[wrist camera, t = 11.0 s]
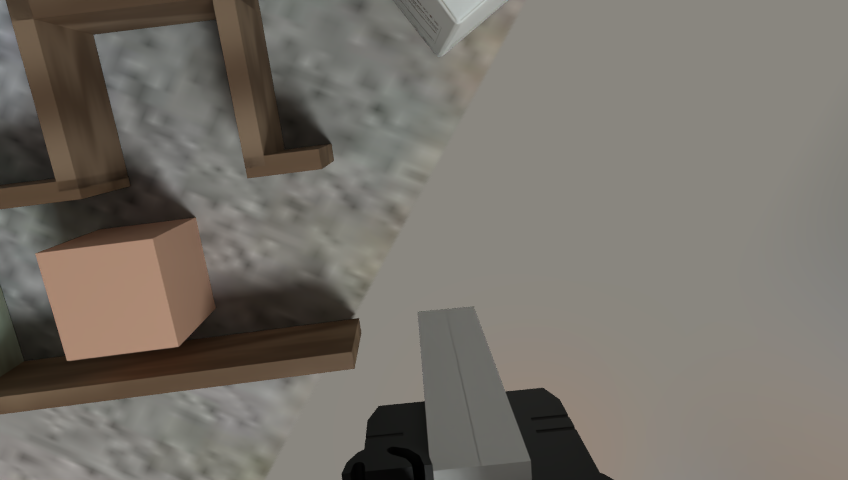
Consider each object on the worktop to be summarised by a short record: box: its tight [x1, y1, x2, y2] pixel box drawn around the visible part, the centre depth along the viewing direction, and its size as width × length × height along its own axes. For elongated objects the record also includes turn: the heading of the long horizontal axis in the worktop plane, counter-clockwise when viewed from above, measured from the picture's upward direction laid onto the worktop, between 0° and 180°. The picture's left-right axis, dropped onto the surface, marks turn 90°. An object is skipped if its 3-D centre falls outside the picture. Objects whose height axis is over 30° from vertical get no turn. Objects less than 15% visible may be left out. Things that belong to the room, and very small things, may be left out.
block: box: [35, 217, 216, 361], centre depth 37 cm, size 7×7×7 cm
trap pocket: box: [6, 0, 285, 191], centre depth 34 cm, size 11×12×6 cm
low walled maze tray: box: [0, 144, 361, 414], centre depth 37 cm, size 14×27×6 cm, turn 97°
